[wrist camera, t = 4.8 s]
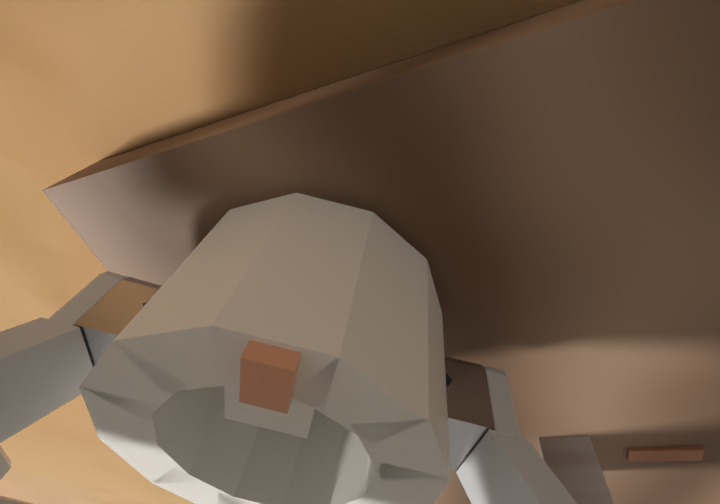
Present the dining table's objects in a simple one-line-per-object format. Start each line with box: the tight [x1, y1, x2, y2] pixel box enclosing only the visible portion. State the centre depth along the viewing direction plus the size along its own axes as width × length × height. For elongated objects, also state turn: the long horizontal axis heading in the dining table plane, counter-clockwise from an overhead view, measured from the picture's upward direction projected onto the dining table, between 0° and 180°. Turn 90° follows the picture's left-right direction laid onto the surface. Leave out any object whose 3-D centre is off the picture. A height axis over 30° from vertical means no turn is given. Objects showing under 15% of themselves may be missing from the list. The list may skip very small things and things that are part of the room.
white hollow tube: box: [79, 193, 451, 504], centre depth 8 cm, size 6×6×4 cm
